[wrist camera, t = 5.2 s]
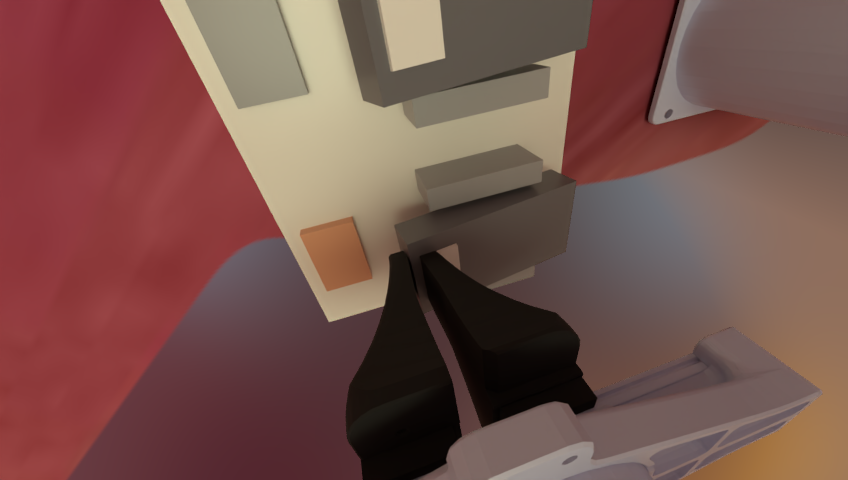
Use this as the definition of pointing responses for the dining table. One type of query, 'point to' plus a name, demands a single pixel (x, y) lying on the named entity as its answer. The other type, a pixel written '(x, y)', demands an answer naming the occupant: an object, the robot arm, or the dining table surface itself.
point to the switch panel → (362, 137)
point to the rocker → (492, 232)
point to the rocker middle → (454, 41)
